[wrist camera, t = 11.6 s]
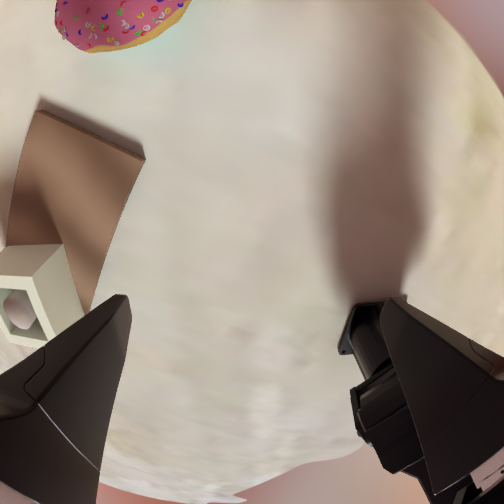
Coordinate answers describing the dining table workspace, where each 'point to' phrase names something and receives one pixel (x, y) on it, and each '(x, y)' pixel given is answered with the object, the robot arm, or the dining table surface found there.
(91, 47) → the cupcake
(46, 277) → the square hollow sleeve
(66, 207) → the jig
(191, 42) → the dining table surface
